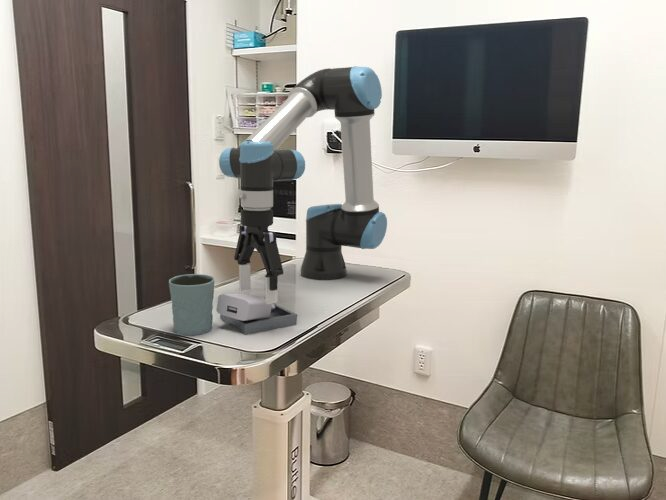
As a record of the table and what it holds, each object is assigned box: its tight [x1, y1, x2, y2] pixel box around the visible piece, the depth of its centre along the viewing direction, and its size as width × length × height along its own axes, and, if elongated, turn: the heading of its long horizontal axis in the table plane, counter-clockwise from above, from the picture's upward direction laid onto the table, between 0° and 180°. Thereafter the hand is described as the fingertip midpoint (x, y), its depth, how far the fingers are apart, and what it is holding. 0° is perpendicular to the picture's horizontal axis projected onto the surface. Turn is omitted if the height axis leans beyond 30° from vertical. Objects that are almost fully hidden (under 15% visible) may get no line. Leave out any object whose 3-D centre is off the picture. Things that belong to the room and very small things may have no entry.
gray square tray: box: [219, 303, 298, 336], centre depth 134 cm, size 14×14×2 cm
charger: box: [216, 293, 275, 321], centre depth 133 cm, size 5×9×15 cm
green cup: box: [168, 273, 215, 336], centre depth 127 cm, size 10×10×12 cm
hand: (257, 296), depth 133 cm, fingers open, 13 cm apart
